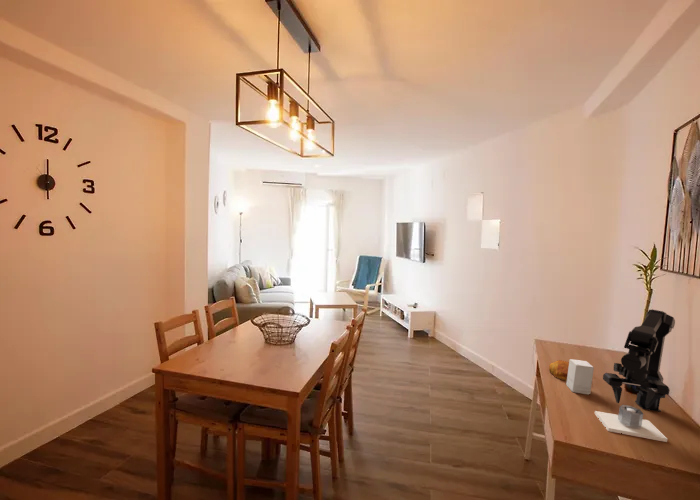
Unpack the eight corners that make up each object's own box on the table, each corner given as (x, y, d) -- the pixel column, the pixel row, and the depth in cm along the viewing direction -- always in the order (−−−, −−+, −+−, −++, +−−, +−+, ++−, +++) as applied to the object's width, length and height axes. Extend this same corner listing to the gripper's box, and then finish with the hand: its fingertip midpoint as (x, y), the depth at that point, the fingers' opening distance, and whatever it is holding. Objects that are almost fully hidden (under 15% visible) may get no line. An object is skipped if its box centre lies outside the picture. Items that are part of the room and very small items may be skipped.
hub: (634, 419, 134) (636, 407, 134) (644, 429, 128) (646, 416, 128) (615, 416, 136) (617, 403, 136) (623, 425, 130) (625, 412, 129)
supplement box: (590, 395, 156) (594, 367, 155) (572, 392, 158) (575, 364, 156) (583, 387, 163) (587, 360, 162) (565, 384, 165) (569, 358, 163)
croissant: (551, 371, 184) (551, 356, 184) (587, 377, 174) (587, 361, 174) (545, 379, 173) (545, 363, 173) (583, 386, 163) (583, 369, 163)
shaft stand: (647, 423, 136) (650, 406, 135) (667, 442, 124) (670, 423, 124) (594, 413, 140) (596, 397, 140) (608, 431, 129) (610, 413, 128)
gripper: (655, 360, 135) (649, 399, 137) (599, 352, 140) (594, 390, 141) (673, 372, 125) (666, 414, 126) (612, 363, 129) (606, 404, 131)
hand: (631, 405), depth 131 cm, fingers open, 9 cm apart
